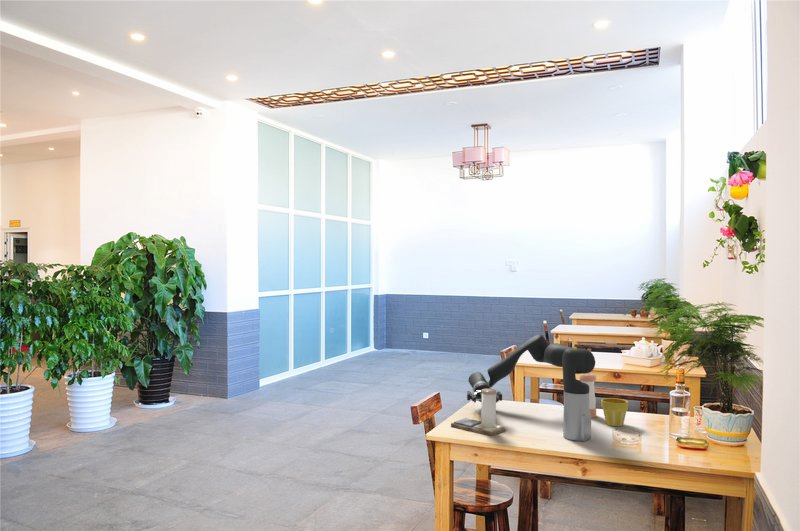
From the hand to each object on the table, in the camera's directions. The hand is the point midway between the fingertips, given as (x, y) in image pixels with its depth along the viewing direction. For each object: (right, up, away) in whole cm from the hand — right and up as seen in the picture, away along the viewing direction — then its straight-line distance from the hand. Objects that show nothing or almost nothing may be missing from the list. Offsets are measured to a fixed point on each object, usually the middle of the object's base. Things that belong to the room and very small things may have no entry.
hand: (485, 400), depth 232 cm
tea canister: (0, -9, -6) cm, 10 cm away
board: (-3, -11, -3) cm, 11 cm away
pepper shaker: (+47, -11, +19) cm, 52 cm away
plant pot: (+53, -11, +5) cm, 55 cm away
